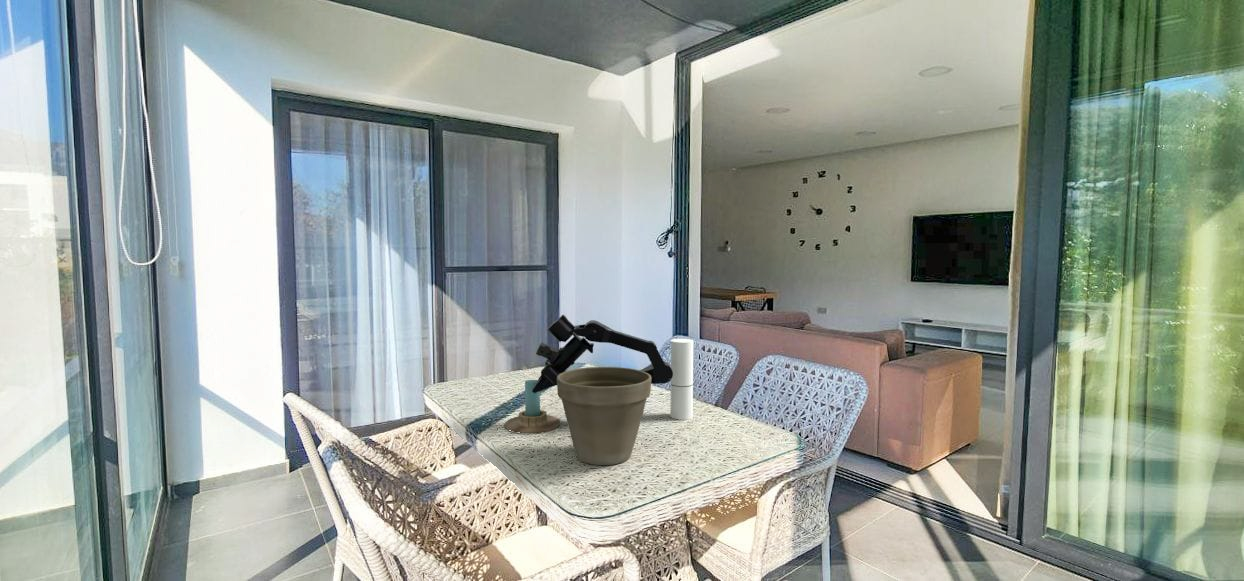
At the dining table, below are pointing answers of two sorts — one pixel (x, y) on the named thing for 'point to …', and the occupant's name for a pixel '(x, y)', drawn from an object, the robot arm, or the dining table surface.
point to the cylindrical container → (682, 379)
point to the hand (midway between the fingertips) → (535, 388)
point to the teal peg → (531, 399)
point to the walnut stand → (532, 423)
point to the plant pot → (603, 411)
